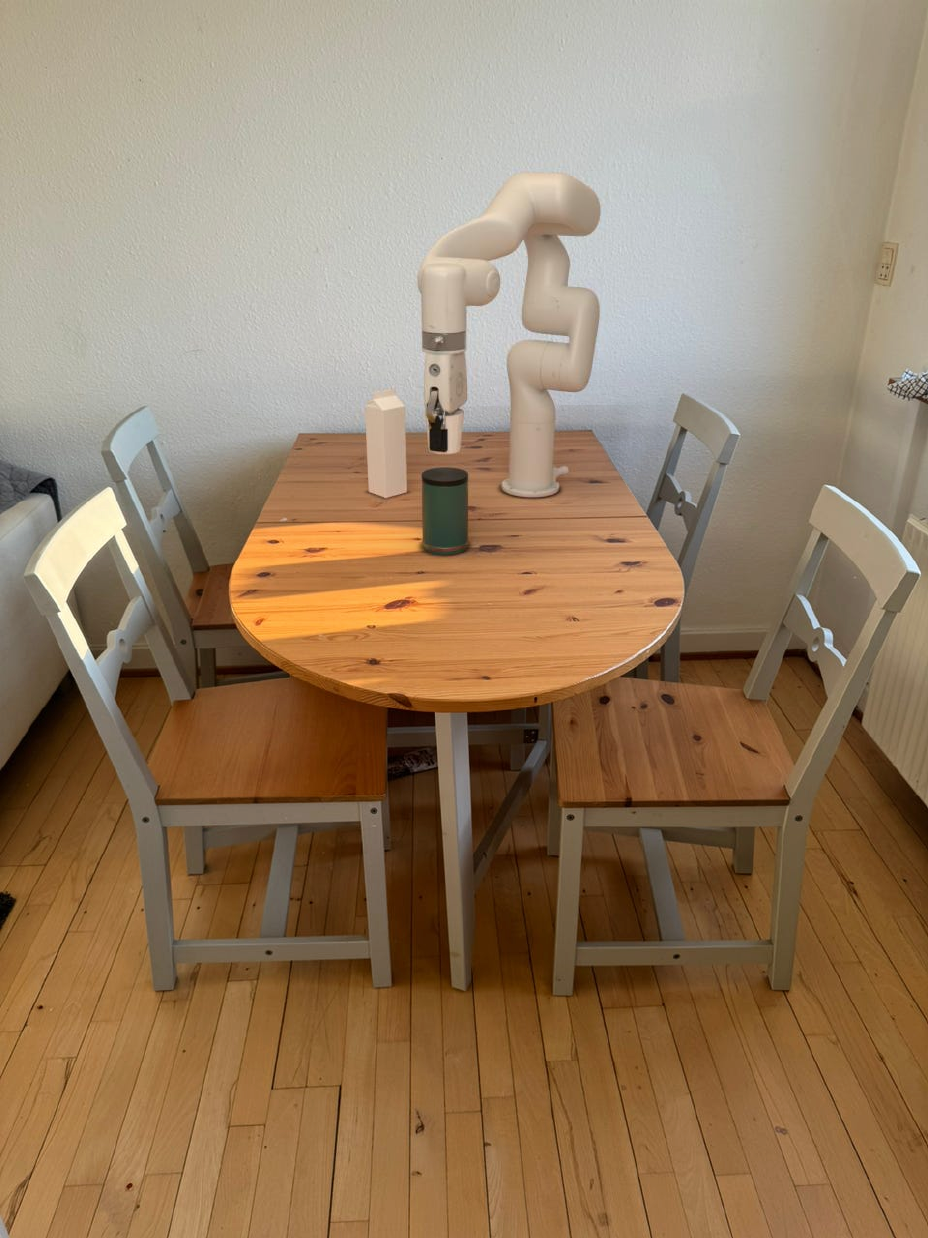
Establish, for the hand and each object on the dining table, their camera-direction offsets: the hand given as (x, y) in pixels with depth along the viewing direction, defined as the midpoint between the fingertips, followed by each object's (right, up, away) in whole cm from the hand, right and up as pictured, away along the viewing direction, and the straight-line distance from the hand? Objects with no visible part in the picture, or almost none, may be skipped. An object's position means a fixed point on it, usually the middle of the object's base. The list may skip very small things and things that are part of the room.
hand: (444, 445), depth 167 cm
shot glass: (0, -1, 0) cm, 1 cm away
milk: (-13, -4, +37) cm, 39 cm away
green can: (0, -17, +8) cm, 19 cm away
